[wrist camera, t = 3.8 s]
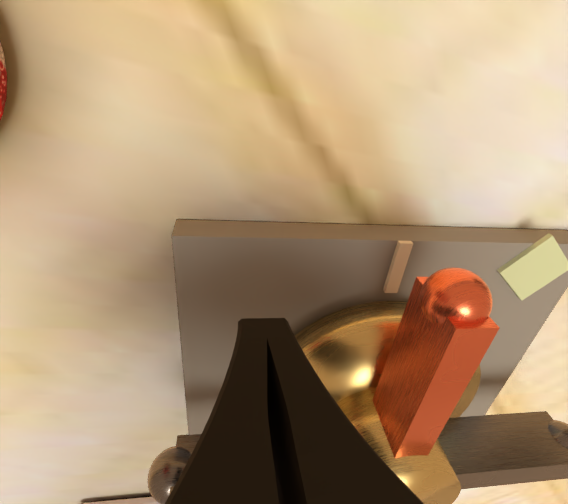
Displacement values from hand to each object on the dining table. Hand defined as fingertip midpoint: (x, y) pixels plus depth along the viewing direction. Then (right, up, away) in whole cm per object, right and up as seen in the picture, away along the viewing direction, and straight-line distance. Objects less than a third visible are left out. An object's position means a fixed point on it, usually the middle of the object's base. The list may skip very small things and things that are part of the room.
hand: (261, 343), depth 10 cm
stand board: (+4, -3, +7) cm, 9 cm away
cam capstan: (+4, -4, +6) cm, 8 cm away
